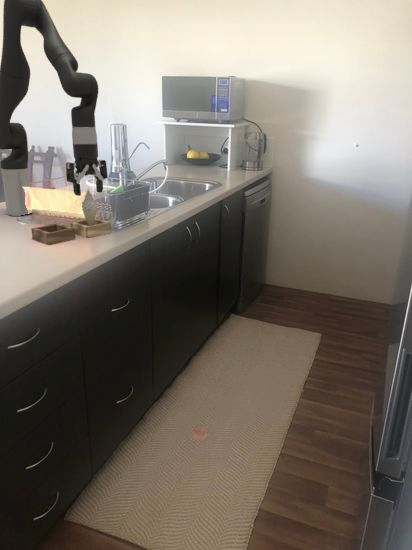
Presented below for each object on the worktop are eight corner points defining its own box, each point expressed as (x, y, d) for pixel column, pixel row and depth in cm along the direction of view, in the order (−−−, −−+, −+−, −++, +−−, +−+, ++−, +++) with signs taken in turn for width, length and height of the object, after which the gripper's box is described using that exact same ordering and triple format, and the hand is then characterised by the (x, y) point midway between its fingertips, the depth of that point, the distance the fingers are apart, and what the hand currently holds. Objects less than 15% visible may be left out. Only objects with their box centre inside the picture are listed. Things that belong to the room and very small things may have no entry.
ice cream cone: (91, 230, 149) (88, 186, 144) (102, 232, 146) (99, 188, 141) (80, 233, 145) (76, 188, 139) (91, 235, 142) (88, 189, 137)
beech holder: (71, 232, 145) (70, 222, 144) (94, 227, 152) (93, 218, 150) (88, 237, 139) (87, 227, 138) (111, 232, 146) (110, 222, 145)
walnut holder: (32, 239, 136) (31, 228, 135) (58, 233, 143) (57, 223, 142) (49, 244, 131) (48, 233, 130) (75, 238, 138) (74, 228, 137)
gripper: (95, 141, 143) (99, 190, 148) (58, 142, 132) (63, 195, 138) (110, 142, 138) (113, 192, 144) (72, 143, 128) (77, 198, 133)
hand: (89, 193), depth 141 cm, fingers open, 8 cm apart
